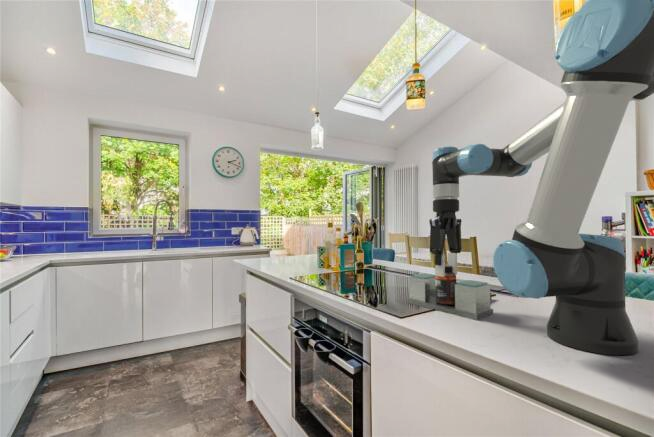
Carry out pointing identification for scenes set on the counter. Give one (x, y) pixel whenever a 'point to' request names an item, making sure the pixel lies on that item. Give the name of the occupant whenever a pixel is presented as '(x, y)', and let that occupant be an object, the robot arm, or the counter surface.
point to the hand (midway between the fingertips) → (446, 274)
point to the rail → (468, 297)
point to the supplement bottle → (446, 287)
